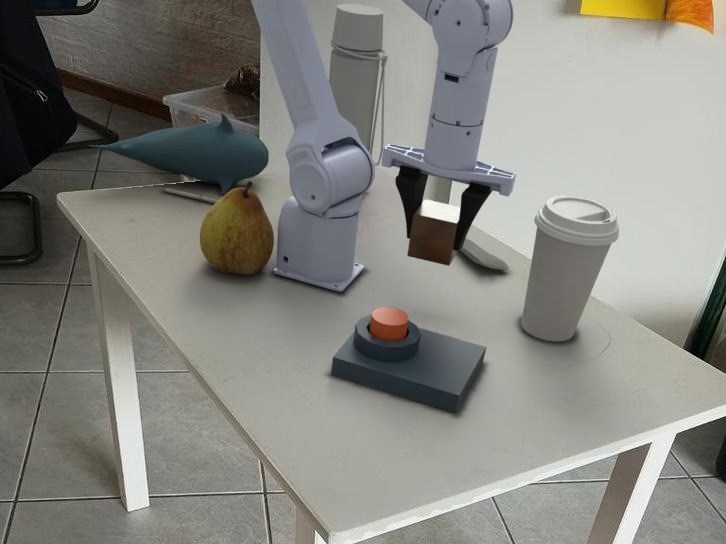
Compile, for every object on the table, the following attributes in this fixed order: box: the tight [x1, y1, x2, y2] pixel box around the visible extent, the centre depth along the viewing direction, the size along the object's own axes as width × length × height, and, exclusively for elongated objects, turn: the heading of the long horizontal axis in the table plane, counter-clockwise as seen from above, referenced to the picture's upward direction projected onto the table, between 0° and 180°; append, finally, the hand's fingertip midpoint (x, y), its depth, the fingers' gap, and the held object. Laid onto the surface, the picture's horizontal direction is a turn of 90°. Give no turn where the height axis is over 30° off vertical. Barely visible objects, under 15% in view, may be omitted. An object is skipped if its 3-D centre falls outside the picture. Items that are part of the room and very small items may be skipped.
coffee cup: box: [521, 194, 620, 343], centre depth 96 cm, size 10×10×15 cm
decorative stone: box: [460, 237, 510, 271], centre depth 113 cm, size 11×1×5 cm
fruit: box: [199, 180, 275, 276], centre depth 100 cm, size 9×9×12 cm
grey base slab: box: [330, 313, 487, 414], centre depth 89 cm, size 14×11×4 cm
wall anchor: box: [164, 187, 222, 204], centre depth 119 cm, size 1×9×1 cm, turn 71°
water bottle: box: [322, 3, 389, 167], centre depth 120 cm, size 9×8×25 cm
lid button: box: [369, 306, 410, 341], centre depth 88 cm, size 4×4×2 cm
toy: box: [87, 113, 270, 195], centre depth 123 cm, size 11×26×15 cm
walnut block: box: [406, 198, 461, 267], centre depth 94 cm, size 5×5×5 cm
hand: (435, 241), depth 94 cm, fingers closed on walnut block, 5 cm apart
